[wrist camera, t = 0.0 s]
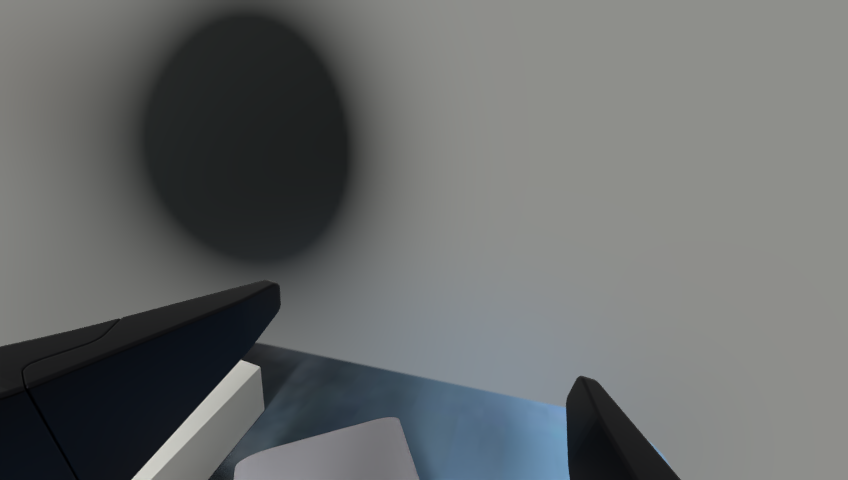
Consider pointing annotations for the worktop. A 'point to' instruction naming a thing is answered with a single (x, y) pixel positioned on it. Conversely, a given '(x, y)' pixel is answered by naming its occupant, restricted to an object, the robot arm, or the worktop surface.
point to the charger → (337, 456)
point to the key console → (210, 429)
